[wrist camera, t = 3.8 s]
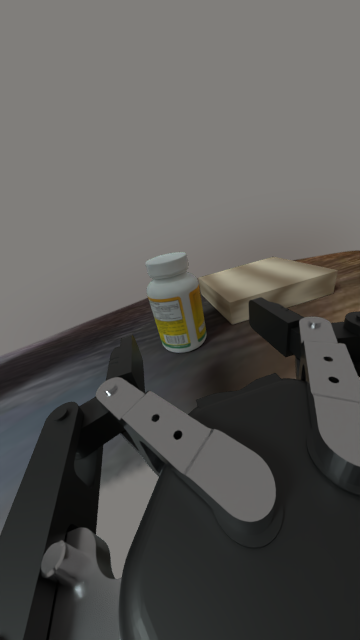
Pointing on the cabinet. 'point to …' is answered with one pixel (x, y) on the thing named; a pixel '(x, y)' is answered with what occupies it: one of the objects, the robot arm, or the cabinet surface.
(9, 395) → the cabinet surface
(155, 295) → the supplement bottle
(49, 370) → the cabinet surface
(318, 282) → the birch base
